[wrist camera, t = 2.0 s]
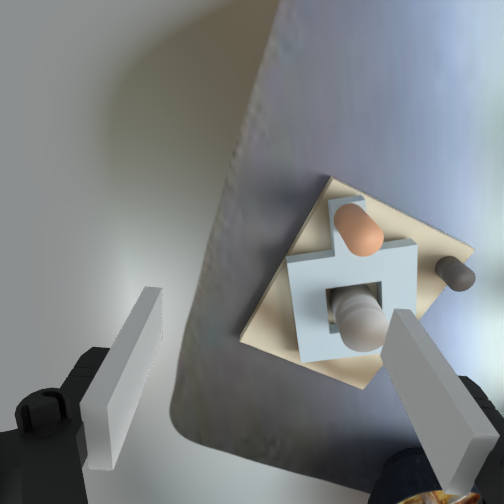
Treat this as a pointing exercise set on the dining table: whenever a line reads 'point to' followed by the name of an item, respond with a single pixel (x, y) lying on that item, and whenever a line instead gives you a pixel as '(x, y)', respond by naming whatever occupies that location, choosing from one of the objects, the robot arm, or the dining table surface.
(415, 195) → the dining table surface
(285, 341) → the post base
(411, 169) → the dining table surface
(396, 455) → the bowl
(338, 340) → the flange plate
